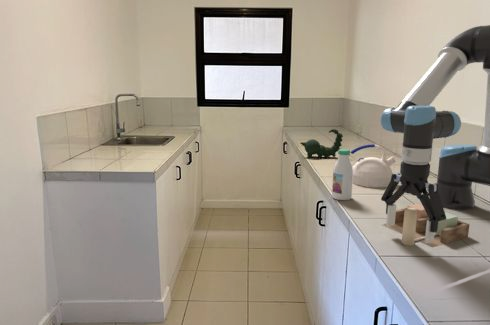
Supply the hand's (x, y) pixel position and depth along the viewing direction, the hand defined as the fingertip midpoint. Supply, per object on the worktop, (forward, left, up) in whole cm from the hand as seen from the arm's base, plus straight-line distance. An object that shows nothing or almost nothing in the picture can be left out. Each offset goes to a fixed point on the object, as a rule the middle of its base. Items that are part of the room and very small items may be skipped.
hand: (408, 233), depth 110 cm
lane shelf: (-12, -4, -4) cm, 13 cm away
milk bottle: (-13, -44, -4) cm, 46 cm away
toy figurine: (-56, -114, -4) cm, 127 cm away
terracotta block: (-15, -9, -3) cm, 18 cm away
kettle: (-42, -57, -4) cm, 71 cm away
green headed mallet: (-8, 0, -4) cm, 9 cm away
